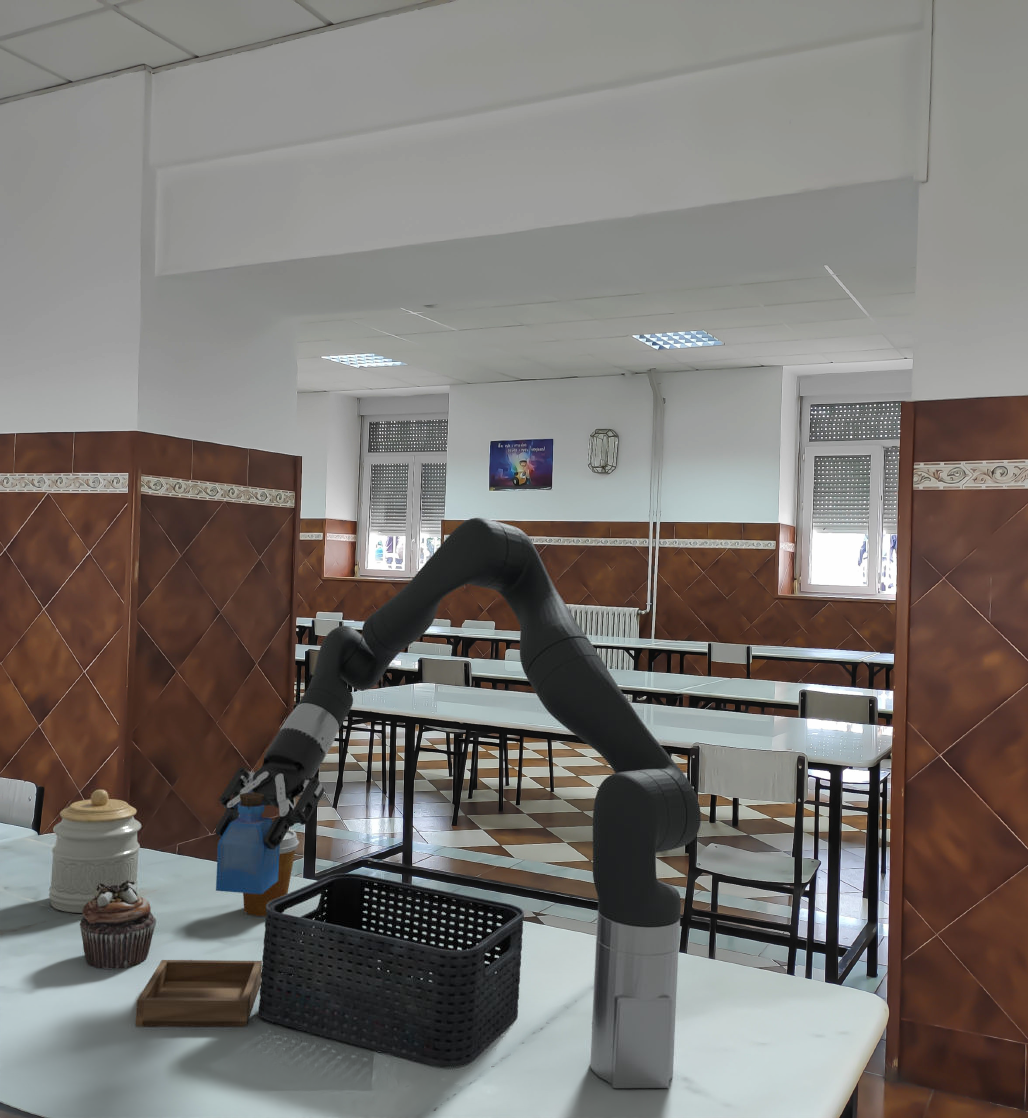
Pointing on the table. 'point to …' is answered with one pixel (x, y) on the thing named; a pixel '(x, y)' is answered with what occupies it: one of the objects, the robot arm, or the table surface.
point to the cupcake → (117, 927)
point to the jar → (93, 850)
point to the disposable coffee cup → (258, 902)
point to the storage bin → (393, 968)
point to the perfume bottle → (247, 851)
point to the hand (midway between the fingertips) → (244, 841)
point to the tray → (200, 994)
